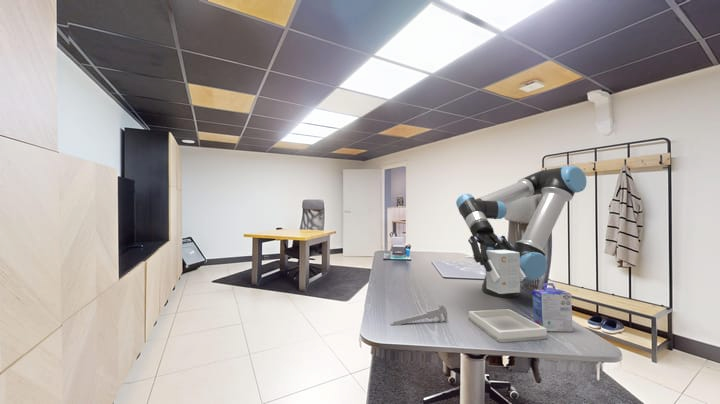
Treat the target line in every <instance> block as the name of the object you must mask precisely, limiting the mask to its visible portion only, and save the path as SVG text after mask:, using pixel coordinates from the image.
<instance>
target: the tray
mask: <svg viewBox="0 0 720 404" xmlns="http://www.w3.org/2000/svg"><path fill="white" fill-rule="evenodd" d="M468 321H470V322H471V323H472V324H473V325H475V326H477V327H478V328H479V329H481V330H482V331H483V332H485V333H486V334H487V335H489V336H490V337H491V338H493V339H494V340H495V341H497V342H498V343H500V344H501V343H511V342H512V343H513V342H525V341H537V340H547V339H548V334H547V333H548V331H547V329H546V328H544V327H542V326H540V325H538V324H537V323H535V322H534V320H530V319H529V318H527V317H525V316H523V315H521V314H520V313H518V312H516V311H514V310H512V309H510V308H505V309H504V308H502V309H501V308H500V309H488V310H487V309H485V310H483V309H482V310H470V311H469V310H468Z"/></svg>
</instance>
